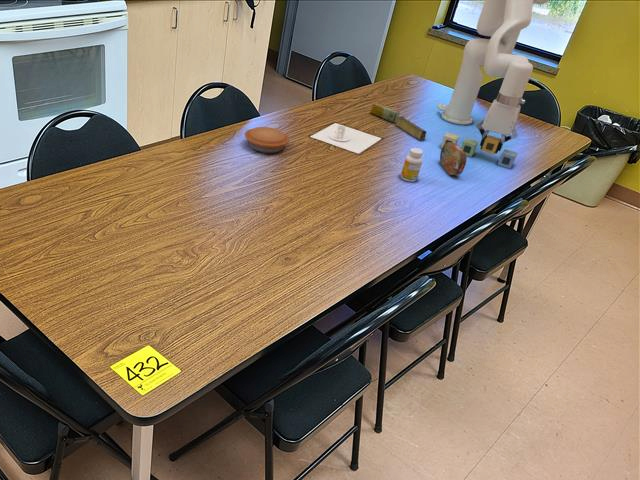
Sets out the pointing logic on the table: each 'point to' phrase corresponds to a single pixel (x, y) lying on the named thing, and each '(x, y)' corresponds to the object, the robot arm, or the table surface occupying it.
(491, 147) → the mustard block
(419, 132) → the decorative block
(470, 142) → the sage block
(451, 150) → the tin
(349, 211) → the table surface
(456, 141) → the cream block
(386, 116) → the medication box
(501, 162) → the blue-grey block
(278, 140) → the pie
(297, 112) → the table surface
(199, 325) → the table surface
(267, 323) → the table surface
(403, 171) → the supplement bottle
